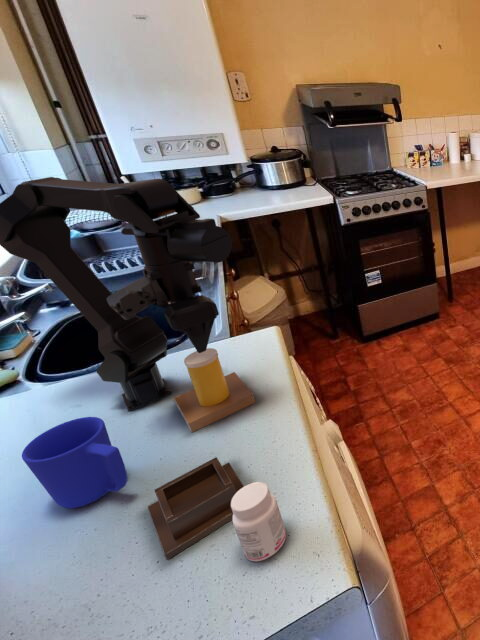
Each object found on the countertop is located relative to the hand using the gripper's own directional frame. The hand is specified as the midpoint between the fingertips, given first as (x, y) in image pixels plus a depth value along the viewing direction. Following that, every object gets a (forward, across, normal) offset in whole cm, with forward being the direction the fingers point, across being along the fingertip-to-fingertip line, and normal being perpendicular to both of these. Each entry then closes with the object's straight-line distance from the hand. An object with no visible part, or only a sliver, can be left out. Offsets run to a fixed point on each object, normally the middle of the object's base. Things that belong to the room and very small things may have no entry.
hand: (194, 342), depth 76 cm
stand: (+13, +24, -8) cm, 28 cm away
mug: (+13, +10, -17) cm, 24 cm away
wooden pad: (+13, +1, 0) cm, 13 cm away
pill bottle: (+13, +36, -4) cm, 39 cm away
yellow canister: (+11, +2, 0) cm, 11 cm away
